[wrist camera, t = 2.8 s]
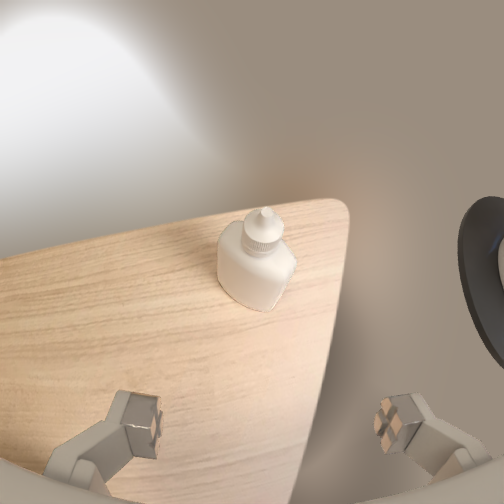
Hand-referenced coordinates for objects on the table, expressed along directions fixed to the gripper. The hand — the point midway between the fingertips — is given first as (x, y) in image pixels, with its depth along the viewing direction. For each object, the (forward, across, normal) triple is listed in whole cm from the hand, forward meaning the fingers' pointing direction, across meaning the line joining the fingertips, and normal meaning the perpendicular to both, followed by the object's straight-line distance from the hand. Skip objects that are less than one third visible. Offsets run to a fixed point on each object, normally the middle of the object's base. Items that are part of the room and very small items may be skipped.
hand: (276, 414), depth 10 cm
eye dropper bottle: (+18, 0, +4) cm, 18 cm away
